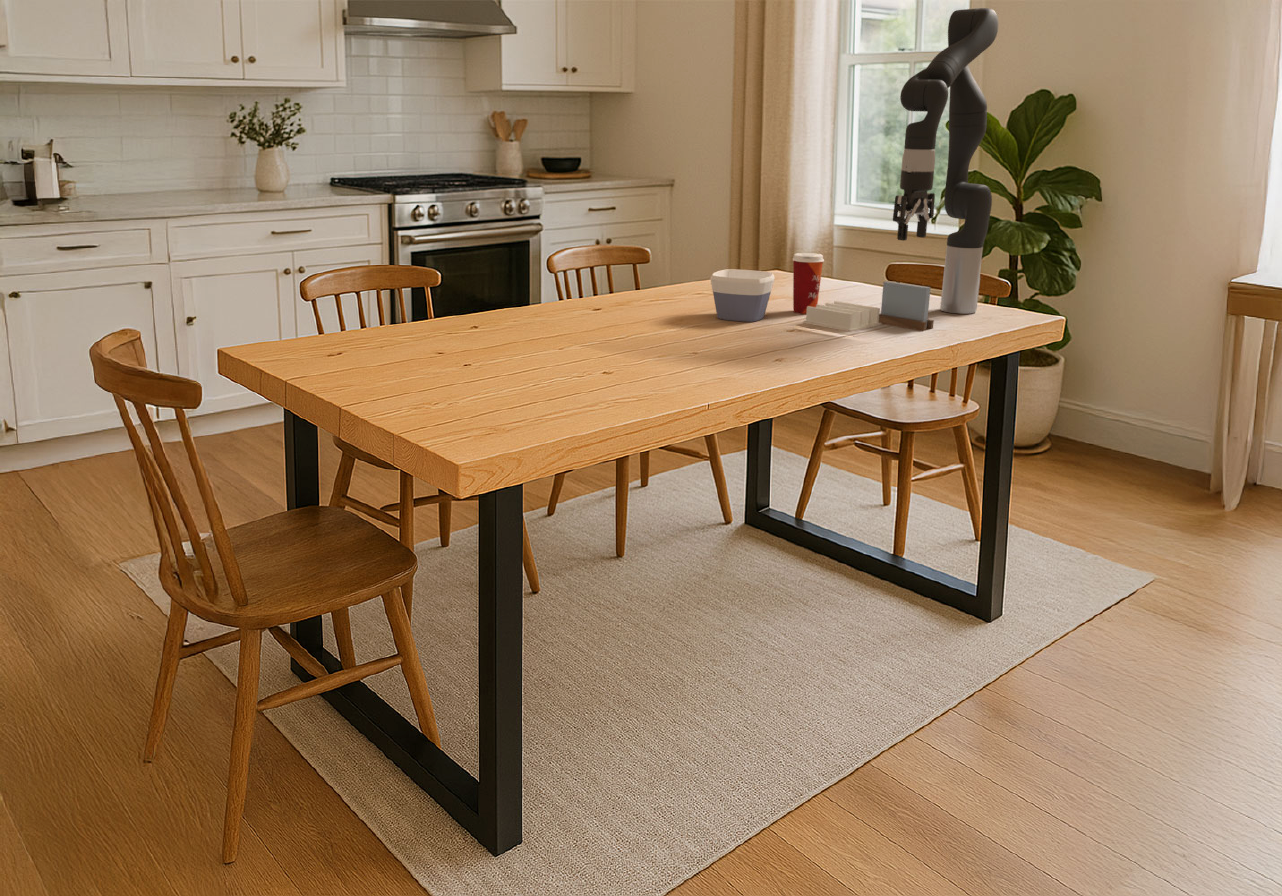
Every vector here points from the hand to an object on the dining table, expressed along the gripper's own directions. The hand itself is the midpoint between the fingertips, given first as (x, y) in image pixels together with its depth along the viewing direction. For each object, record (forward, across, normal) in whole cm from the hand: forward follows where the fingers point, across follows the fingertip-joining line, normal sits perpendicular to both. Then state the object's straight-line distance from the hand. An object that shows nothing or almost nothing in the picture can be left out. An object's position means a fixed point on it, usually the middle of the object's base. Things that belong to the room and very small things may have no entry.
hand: (911, 238), depth 261 cm
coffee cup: (+22, +1, -29) cm, 36 cm away
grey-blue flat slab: (+21, 0, 0) cm, 21 cm away
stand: (+22, 0, 0) cm, 22 cm away
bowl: (+22, +20, -35) cm, 46 cm away
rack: (+22, +10, -11) cm, 26 cm away
